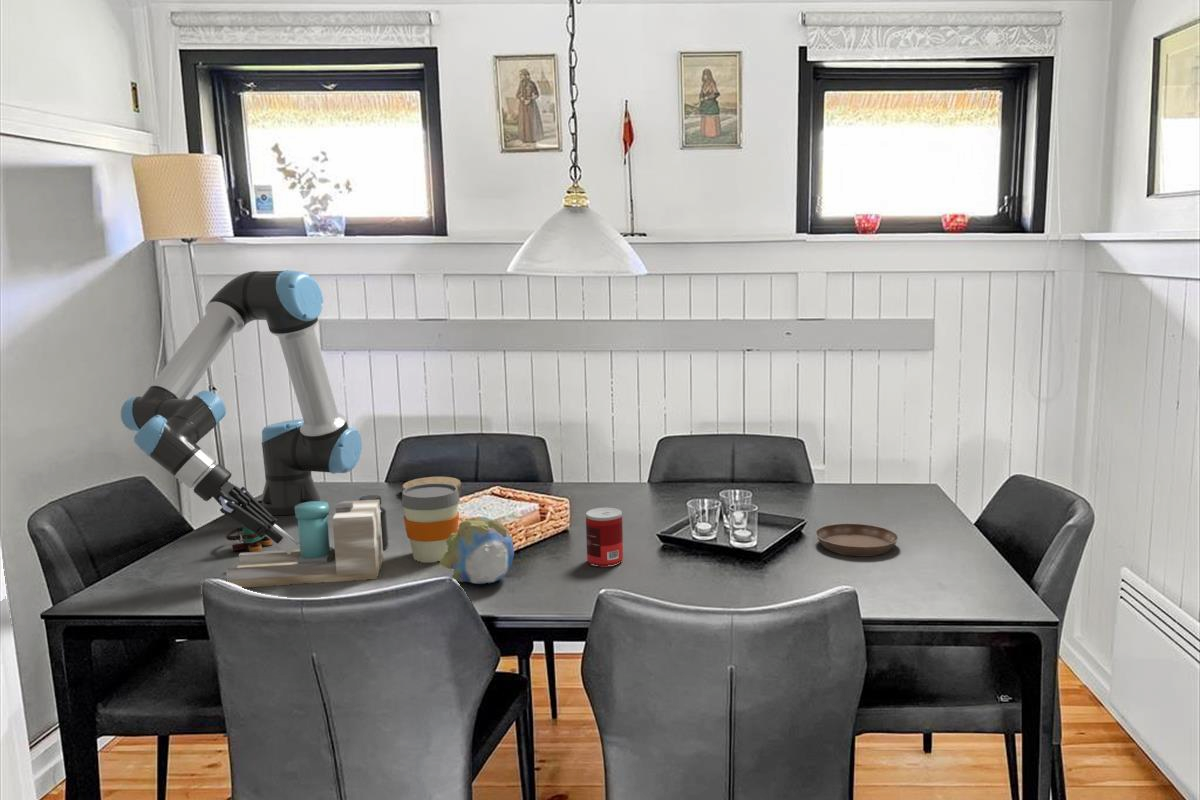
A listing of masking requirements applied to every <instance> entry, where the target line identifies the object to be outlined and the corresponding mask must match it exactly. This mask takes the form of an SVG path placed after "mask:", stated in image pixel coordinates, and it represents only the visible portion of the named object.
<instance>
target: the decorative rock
mask: <svg viewBox="0 0 1200 800" xmlns="http://www.w3.org/2000/svg"><path fill="white" fill-rule="evenodd" d="M446 543H447V545H448V546H449V547H448V552H445V554H444V557H442V558H440V562H439V564H440V565H441V566H442V567H444V568H447V569H450V570H452V569H453V575H452V576H451V579H452V578H454V579H456V580H457V581H459V582H458V583H465V582H466V583H470V584H475V585H476V584H477V585H486V583H488V584H492V583H496V582H497V581H499V580H501V579H502V578H504V576H505V575H506V573H508V572H509V568H511V565H512V563H513V561H514V555H515V547H514V542H513V539H512V537H511V534H510V533H509V530H508V529H507V528H506V527H505V525H504V524H503V523H501V522H500V521H499V520H496V519H492V518H488V517H487V516H472V517H471V518H468V519H466V520H463V521H461V522H460V523H458V530H457V532H456V533H451V535H450V537H449V538H448V539H447V540H446Z"/></svg>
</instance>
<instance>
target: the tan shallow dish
mask: <svg viewBox="0 0 1200 800" xmlns="http://www.w3.org/2000/svg"><path fill="white" fill-rule="evenodd" d="M431 483H443V484H451V485H454V486H456V487H457V488H458V493H459V495H460V494H461V493H462V482H461V480H460V479H458V478H456V477H450V476H428V477H420V478H415V479H411V480H408V481H406V482H405V483H403V484H402V491H403V490H405V489H406V488H409V487H412V486H416V485H421V484H431Z"/></svg>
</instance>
